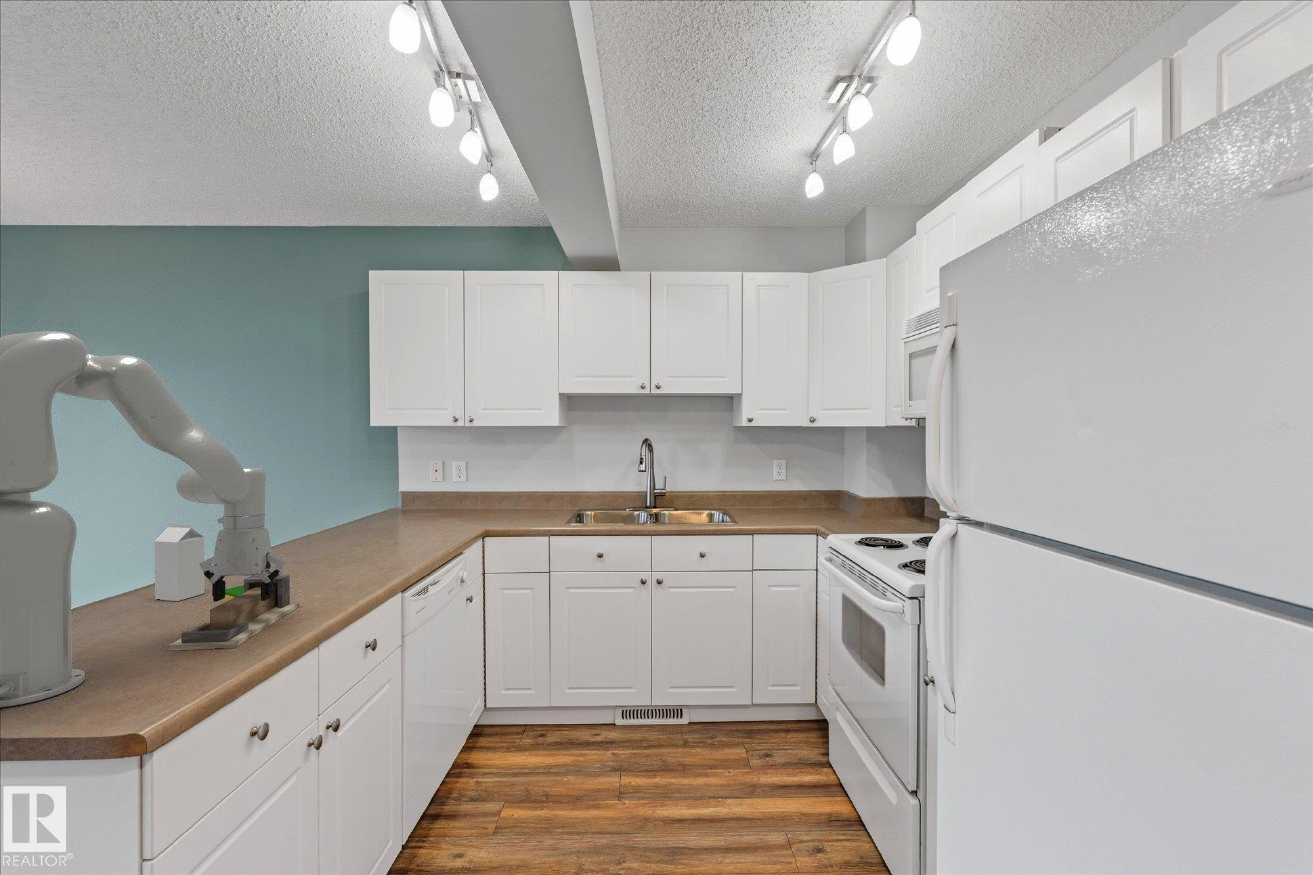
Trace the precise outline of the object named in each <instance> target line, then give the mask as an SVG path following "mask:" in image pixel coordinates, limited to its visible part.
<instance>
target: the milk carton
mask: <svg viewBox="0 0 1313 875" xmlns="http://www.w3.org/2000/svg"><path fill="white" fill-rule="evenodd" d="M203 561H205V537H204V536H203V535H202V534H201V533H200V532H198V531H196V529H194V528H193V527H192V524H191V523H181V522H178V523H177V522H168V524H167V528H166V529H164V530H163V532H162V533H161V534H160V535H159V536H158V537H157V538H156V539H155V540H154V600H157V599H160V600H159V601H172V602H179V601H183V600H186V599H190V598H193V597H196V596H201V595H204V594H205V592H206V591H205V575H204V572H203V571H202V569H201V567H200V563H201V562H203ZM203 593H204V594H203Z"/></svg>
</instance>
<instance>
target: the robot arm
mask: <svg viewBox="0 0 1313 875" xmlns="http://www.w3.org/2000/svg"><path fill="white" fill-rule="evenodd" d="M57 393H58V394H62V395H66V396H70V397H78V398H82V399H87V400H93V401H109V402H110V403H111V404H112V405H113V406H114V407H115V409H116V410H117V411H118V412H119V414H120V415H121V416H122V418H123V419H124V420H125V421H126V423H127V424H128V425H129V426H130V427H131V428H132V430H133V431H134V433H135V434H137V436H138V438H139V439H140V440H141V441H142V442H144V443H145V444H147V445H148V446H150V447H152V448H153V449H156V450H158V451H160V452H163V453H164V454H165V453H166V454H168V455H170V456H172V457H174V458H176V459H178V460H180V461H182V462H183V463H185V464H186V465H187V466H189V467H190V468H192V469H189V470H187V471H184V472H183V473H182V474H181V475H180V476H179V477H178V479H177V481H176V491H177V493H178V495H179V496H181V497H182V498H183V499H184V500H185V501H189V502H191V503H196V504H197V503H198V504H207V505H208V504H212V505H223V516H222V517H218V519H217V524H221V525H222V528H223V529H219V530H218V533H217V536H216V541H215V543H214V544H215V546H214V550H213V556H212V557H210V558H208V559H205V560H204V561H203V562H201V563H200V567H201V569H202V571H203V572H204V577H206V579H208V581H209V583H210V584H212V585H211V586H212V587H211V588H212V589H211V590H212V592H211V595H212V598H213V599H212V601H213V602H214V603H215V602H219V601H221V600H224V598H225V589H226V580H224V579H225V578H226V577H232V576H234V577H238V576H239V577H246V576H248V577H250V576H256V575H259V576H260V578H261V579H262V580H263V581H264V582H263V583H262V584H261V601H265V600H267V599H269V598H271V596H272V594H273V580H275V579H276V577H277V576H279V575H282V572H283V570H284V569H285V567H286V566H287V561H286V560H285V559H282V558H280V557H278V556H275V555H273V554H272V545H271V539H270V538H271V537H270V534H269V529H268V527H265V525H266V524H265V523H266V486H267V481H266V478H267V474H266V471H265V470H264V469H263V468H260V467H245V466H242V465H241V463H240V462H239V461H238V459H237V457H235V455H234V454H233V453H232V452H231V450H230V449H229V448H228V447H227V446H226V445H224V443H222V442H221V440H218V438H216V437H214V436H213V435H212V434H210V433H209V432H208V431H207V430H206V429H204V428H203V427H201V426H200V425H199V424H197V423H196V422H194V421H193V420H192V419H191V418H190V417H189V416H188V414H187V413H186V411H185V410H184V409H183V407H182V406H181V404H179V402H178V400H177V398H175V397H174V395H173V394H172V392H171V391H170V390H169V388H168V387H167V385H166V384H165V383H164V382H163V379H162V378H161V377H160V376H159V374H158V373H157V372H156V370H155V369H154V367H153V366H152V365H150V363H149V362H147V361H146V360H144V359H142V358H140V357H137V356H135V355H128V354H127V355H126V354H122V355H121V354H120V355H117V354H115V355H98V354H97V355H96V354H90V352H89V349H88V347H87V345H86V343H85V342H84V341H83V340H82V339H80V338H79V337H78V336H76V335H73V334H71V333H69V332H64V331H57V330H43V331H42V330H40V331H32V332H24V333H11V334H7V335H4V336H1V337H0V708H6V707H8V708H9V707H14V706H18V705H19V706H20V705H25V704H29V703H33V702H34V703H35V702H38V701H42V700H45V699H48V698H52V697H55V696H57V695H58V696H59V695H61V694H63V693H65V692H68V691H70V690H72V689H74V688H76V687H77V686H79V685H81V684H82V683H83V682H84V681H85V676H86V674H85V671H84V670H83V669H78V668H73V651H72V650H73V646H72V645H73V642H72V641H73V640H72V639H73V638H72V637H73V636H72V589H71V588H72V587H71V586H72V585H71V584H72V581H71V579H72V578H71V576H72V575H71V574H72V561H73V554H74V550H75V546H76V542H77V535H78V534H77V531H78V530H77V529H78V528H77V524H76V521H75V519H74V517H73V516H72V514H71V513H70V512H69V511H68V510H66V509H65V508H63V507H62V506H59V505H57V504H54V503H52V502H47V501H42V500H32V498H31V497H32V496H31V493H35V492H38V491H41V490H43V489H45V488H48V486H50V485H51V484H52V483H53V482H54V481H55V480H56V477H57V475H58V473H59V472H58V471H59V460H58V455H57V449H56V442H55V435H54V434H55V433H54V429H53V418H52V407H53V401H54V399H55V395H57ZM272 564H274V566H275V568H274V569H273V571H272V570H271V567H272Z"/></svg>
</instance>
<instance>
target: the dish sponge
mask: <svg viewBox="0 0 1313 875" xmlns="http://www.w3.org/2000/svg"><path fill="white" fill-rule="evenodd" d="M243 593H244V584H242V585H238V586H233V587H229V588H225V598H224V599H225V600H224V599H223V600H224V601H228V600H231V599H233V598H235V597H237V596H239V595H241V594H243Z"/></svg>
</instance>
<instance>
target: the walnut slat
mask: <svg viewBox="0 0 1313 875" xmlns="http://www.w3.org/2000/svg"><path fill="white" fill-rule="evenodd" d="M274 607H276V586H273V594H272V596H271V598H269V599H267V600H265V601H261V586H257V587H255V588H253V589H251V590H249V591H247V592H245V593H243V594H241V595H239V596H237V597H235V598H233V599H231V600H225V601H224V602H223V603H221V604H218V605H216V606H214V607H212V608H210V609H209V623H210V631H215V630H230V629H232V628H234V627H235V626H237V625H239V624H241V623H242V622H250V621H252V620H254V619H255V618H257V617H259V616H260V615H262V614H264V613H266V612H267V611H269V610H271V609H272V608H274Z"/></svg>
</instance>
